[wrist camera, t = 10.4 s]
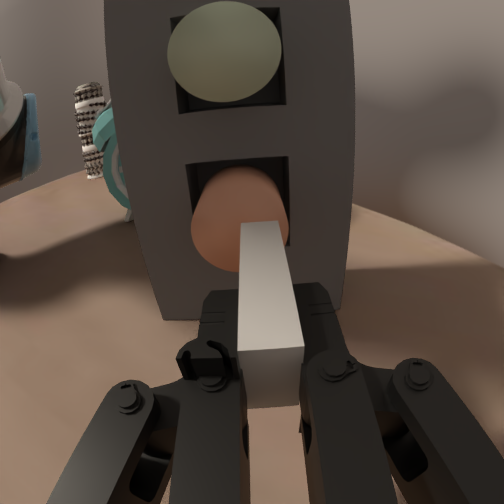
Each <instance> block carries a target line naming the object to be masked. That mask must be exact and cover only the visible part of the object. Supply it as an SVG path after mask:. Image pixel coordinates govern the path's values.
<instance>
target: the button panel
mask: <svg viewBox="0 0 504 504" xmlns="http://www.w3.org/2000/svg"><path fill="white" fill-rule="evenodd" d="M220 1H233V2H239V3H244V4H247V5H250V6H252V7H254V8H256V9H258V10H259V11H261V12H262V13H263V14H265V15H266V16H267V17H268V18H269V19H270V20H271V22H272V23H273V24H274V26H275V27H276V29H277V32H278V34H279V37H280V41H281V59H280V62H279V66H278V68H277V70H276V72H275V74H274V75H273V77H272V78H271V80H270V81H269V82H268V83H267V84H266V85H265V86H264V87H263V88H262V89H260V90H259V91H257V92H256V93H254V94H252V95H250V96H248V97H246V98H243V99H240V100H236V101H231V102H213V101H208V100H204V99H201V98H198V97H196V96H194V95H192V94H190V93H189V92H187V91H186V90H185V89H184V88H182V87H181V86H180V85H179V83H178V82H177V81H176V80H175V78H174V77H173V75H172V73H171V71H170V67H169V64H168V58H167V50H168V44H169V40H170V37H171V35H172V33H173V31H174V29H175V28H176V26H177V25H178V23H179V22H180V21H181V20H182V19H183V18H184V17H185V16H186V15H188V14H189V13H190V12H192V11H193V10H195V9H197V8H199V7H201V6H203V5H206V4H210V3H214V2H220ZM104 23H105V24H104V25H105V44H106V57H107V68H108V78H109V88H110V95H111V104H112V111H113V118H114V125H115V131H116V137H117V143H118V149H119V154H120V159H121V165H122V170H123V175H124V179H125V184H126V189H127V193H128V198H129V202H130V206H131V211H132V215H133V219H134V223H135V227H136V231H137V235H138V238H139V242H140V246H141V250H142V253H143V257H144V260H145V264H146V267H147V270H148V274H149V277H150V280H151V284H152V287H153V290H154V293H155V296H156V300H157V303H158V306H159V309H160V312H161V315H162V318H163V320H186V319H200V318H201V315H202V313H201V312H202V306H203V301H204V299H205V298H206V297H207V295H208V294H209V293H210V291H212V290H229V289H239V272H231V271H226V270H223V269H220V268H218V267H216V266H214V265H212V264H211V263H209V262H208V261H207V260H205V259H204V258H203V257H202V256H201V254H200V253H199V252H198V250H197V249H196V247H195V245H194V242H193V239H192V235H191V222H192V217H193V215H194V212H195V209H196V207H197V204H198V201H199V199H200V196H201V194H202V191H203V188H204V186H205V184H206V182H207V181H208V180H209V178H210V177H211V176H212V175H213V174H215V173H216V172H217V171H219V170H221V169H222V168H225V167H227V166H231V165H237V164H244V165H250V166H254V167H257V168H259V169H261V170H263V171H264V172H266V173H267V174H268V175H269V176H270V177H271V178H272V179H273V180H274V182H275V183H276V185H277V187H278V190H279V193H280V196H281V199H282V203H283V206H284V209H285V213H286V216H287V220H288V227H289V230H288V238H287V241H286V244H285V246H284V249H285V254H286V258H287V263H288V268H289V272H290V277H291V282H292V284H300V283H313V282H319V283H320V284H321V285H322V286H323V287H324V288H325V289H326V290H327V291H328V293H329V296H330V299H331V301H332V305H333V307H334V310H337V309H340V304H341V297H342V290H343V283H344V276H345V268H346V260H347V251H348V241H349V231H350V220H351V208H352V194H353V177H354V155H355V154H354V153H355V75H354V53H353V38H352V26H351V14H350V5H349V0H104Z"/></svg>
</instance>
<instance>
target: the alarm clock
mask: <svg viewBox="0 0 504 504" xmlns="http://www.w3.org/2000/svg"><path fill="white" fill-rule="evenodd" d="M96 113H97V115H96V117H95V118H96V119H97V121H96V122H95V124H94V127H93V129H92V135H93V143H94V145H95V146H96V147H97V149H98V150H99V152H102V151H104V154H103V176H104V179H105V181H106V184H107V186H108V189H109V192H110V193H111V194H112V195H113V196H114V197H115V198H116V200H117V201H118V202H119V203H120V204H121V205H122V206H124V207H126V208H128V210H127V214H126V217H125V220H124V221H126V222H129V221H131V220H134V219H133V215H132V211H131V206H130V202H129V198H128V193H127V189H126V184H125V179H124V175H123V170H122V165H121V159H120V154H119V149H118V143H117V137H116V131H115V125H114V118H113V111H112V104H111V99H110V101H109V102H108V103H107V105H106V106H105V107H104V108H103V109H102V108H100V109H99V110H98V111H97V112H96Z"/></svg>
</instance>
